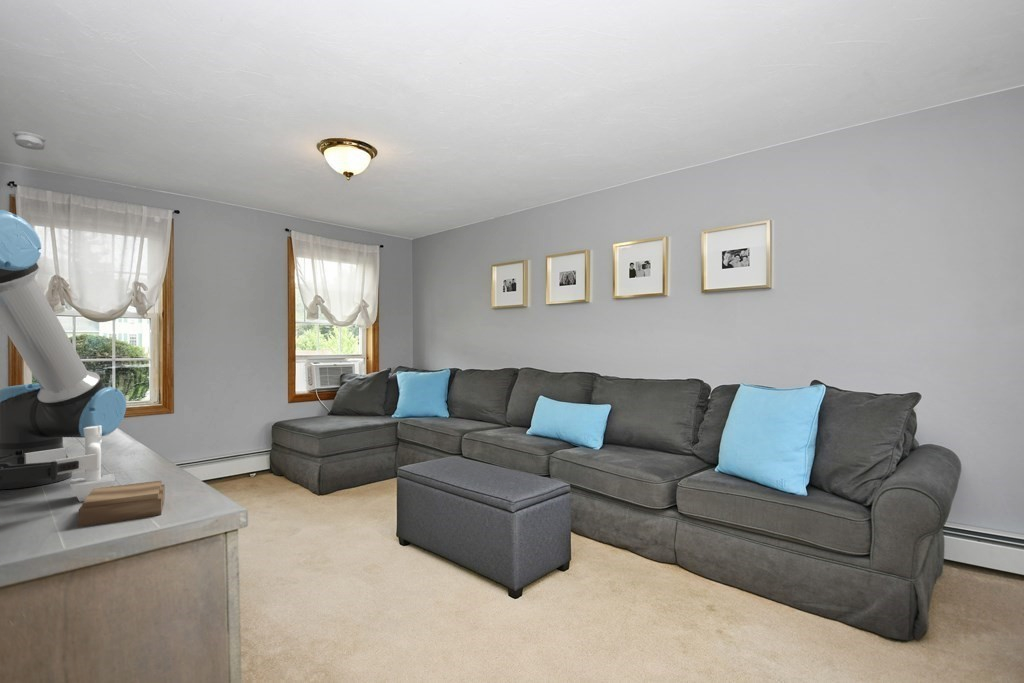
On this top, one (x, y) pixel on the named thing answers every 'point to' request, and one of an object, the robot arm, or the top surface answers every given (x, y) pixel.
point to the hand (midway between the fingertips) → (80, 457)
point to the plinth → (122, 503)
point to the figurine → (92, 476)
